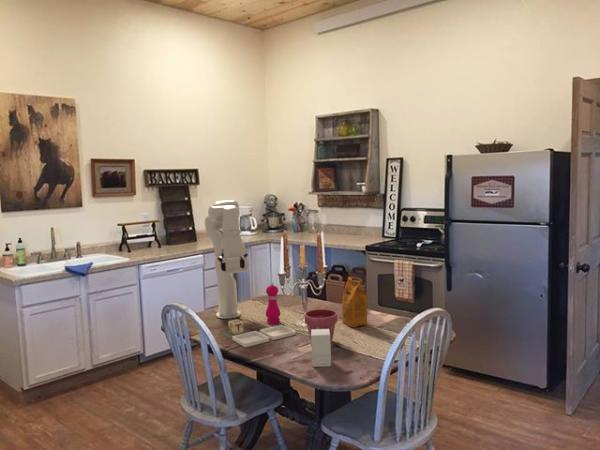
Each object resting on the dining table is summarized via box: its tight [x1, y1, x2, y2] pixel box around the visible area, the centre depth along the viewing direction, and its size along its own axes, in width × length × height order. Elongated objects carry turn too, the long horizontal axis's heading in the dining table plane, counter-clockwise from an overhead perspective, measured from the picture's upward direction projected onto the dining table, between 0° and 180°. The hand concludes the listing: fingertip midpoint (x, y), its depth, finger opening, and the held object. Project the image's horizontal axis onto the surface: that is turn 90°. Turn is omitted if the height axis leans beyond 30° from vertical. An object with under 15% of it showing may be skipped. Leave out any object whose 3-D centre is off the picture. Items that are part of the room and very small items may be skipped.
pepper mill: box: [265, 282, 281, 325], centre depth 252 cm, size 7×7×20 cm
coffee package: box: [341, 276, 368, 328], centre depth 245 cm, size 10×12×22 cm
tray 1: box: [231, 330, 270, 348], centre depth 227 cm, size 12×12×2 cm
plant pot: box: [304, 308, 338, 344], centre depth 223 cm, size 14×14×13 cm
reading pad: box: [219, 326, 253, 339], centre depth 238 cm, size 10×12×1 cm
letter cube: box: [227, 319, 244, 334], centre depth 238 cm, size 5×5×5 cm
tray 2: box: [259, 324, 297, 341], centre depth 234 cm, size 12×12×2 cm
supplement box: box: [310, 329, 332, 368], centre depth 199 cm, size 7×7×13 cm
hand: (233, 269), depth 244 cm, fingers open, 9 cm apart
